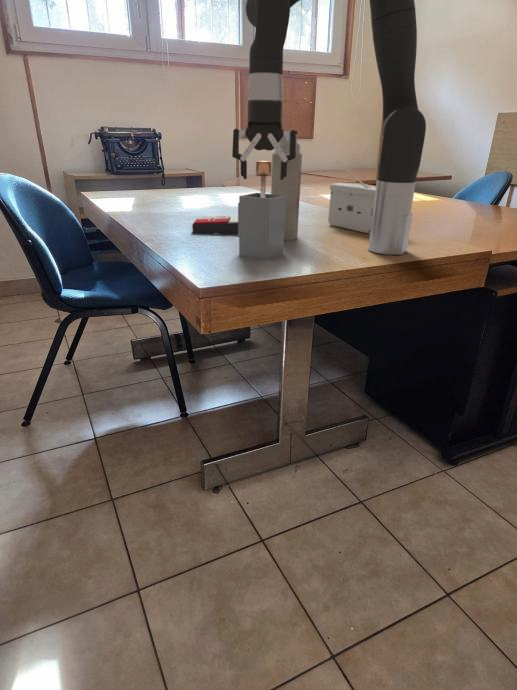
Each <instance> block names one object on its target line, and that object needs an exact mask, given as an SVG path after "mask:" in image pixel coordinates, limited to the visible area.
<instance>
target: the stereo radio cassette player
mask: <svg viewBox="0 0 517 690" xmlns="http://www.w3.org/2000/svg"><path fill="white" fill-rule="evenodd" d="M335 162H336V163H338V164H339V165H340V166H341V167H342V168H344V170H345V171H347V173H349V175H351V176H352V177H353V178H354V179H356V180H357V182H359V183H358V184H357V183H356V184H355V183H349V182H337V183H331V184H330V185H329V190H330V195H329V197H330V198H329V208H328V221H327V222H328V225H330V226H333V227H338V228H341V229H342V228H344V229H347V230H351V231H356V232H360V233H364V234H368V235H370V231H371V223H372V215H373V207H374V199H375V191H376V186H372V185H366V184H365V183H364V182H363V181H361V179H359V177H357V176H356V175H355V174H353V172H352V171H350V170H348V168H346V166H344V165H343V164H342V163H340V161H338V160H336V161H335Z"/></svg>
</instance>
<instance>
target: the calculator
mask: <svg viewBox="0 0 517 690" xmlns="http://www.w3.org/2000/svg"><path fill="white" fill-rule="evenodd" d="M191 229H192V234H195V233H197V234H198V233H199V235H202V234H203V235H215V234H214V233H220V234H219V235H223V234H224V235H227V234H228V235H237V234H238V215H235V216H234V215H231V216H230V215H214V216H213V215H210V216H205V215H204V216H197V218H195V220H194V222H193V223H192V224H191ZM221 233H222V234H221ZM226 233H227V234H226ZM197 234H196V235H197Z"/></svg>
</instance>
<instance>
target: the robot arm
mask: <svg viewBox="0 0 517 690" xmlns="http://www.w3.org/2000/svg"><path fill="white" fill-rule="evenodd" d="M300 1H301V0H246V5H245V13H246V17H247V20H248V22H249V23H250V24H251V26H253V27H254V28H255V33H254V35H255V36H254V39H253V42H252V43H251V45H250V48H249V58H248V59H249V61H248V62H249V68H248V69H249V73H248V74H249V75H248V84H247V96H246V97H247V127H246V129H238V128H234V129H233V132H232V154H231V155H232V158H234V159H237V160H238V161H240V176H241V177H243V180H247V179H248V170H247V169H248V161H247V158H248V157H249V156H250V154H251V153H252V151H253V150H254V149H255V150H256V151H262V150H263V151H264V150H265V151H272V150H274V151H275V150H276V152H277V153H278V155H279V156H280V158H281V160H282V162H281V165H280V180H283V178H284V177H286V175H287V162H288V161H289V160H292V159H295V157H296V132H295V131H296V130H295V129H290V130H291V131H283V130H284V129H283V127H282V126H283V125H282V123H283V102H284V100H283V99H284V81H283V69H284V47H285V44H286V39H287V33H288V28H289V22H290V14H291V8H292V7H294V5H295V4H296V3H298V2H300ZM369 9H370V20H371V21H370V23H371V32H372V42H373V47H374V54H375V60H376V67H377V70H378V75H379V80H380V84H381V86H380V87H381V92H382V143H381V151H380V157H379V158H380V159H379V164H378V168H377V169H378V170H377V176H376V184H375V187H376V191H375V199H374V207H373V215H372V223H371V231H370V234H369V240H368V248H367V249H368V251H370V252H372V253H376V254H383V255H391V256H393V255H397V256H402V255H403V254H404V253H406V252H407V250H408V243H409V239H410V234H411V233H410V232H411V225H412V220H413V212H412V207H413V202H414V195H415V190H416V189H415V188H416V184H417V183H416V182H417V177H418V174H419V170H420V167H421V161H422V155H423V149H424V145H425V138H426V133H427V132H426V131H427V130H426V129H427V123H426V118H425V116H424V115H423V113H422V112H421V110H419V105H418V100H417V93H416V84H415V74H416V62H417V51H418V50H417V48H418V47H417V45H418V33H417V30H418V29H417V15H416V3H415V0H369ZM244 135H245V136H246V138H247V140H248V141H249V144H248V145H247V147H246V149H244V152H243V153H239V141H241V140H242V139H243V137H244ZM283 135H284V136H286V139H287V140H288V141H289V154H288V155H285V154H284V152H283V150H282V149H281V147H280V146H279V144H278V143H279V141H280V140H281V138H282V137H283Z"/></svg>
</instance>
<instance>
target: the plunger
mask: <svg viewBox="0 0 517 690" xmlns="http://www.w3.org/2000/svg"><path fill="white" fill-rule="evenodd" d="M255 176H257V177H260V192H259V193H260V198H265V195H266V194H267V193H266V190H267V187H266V186H267V183H266V182H267V177H272V160H271V161H269V160H255Z"/></svg>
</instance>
